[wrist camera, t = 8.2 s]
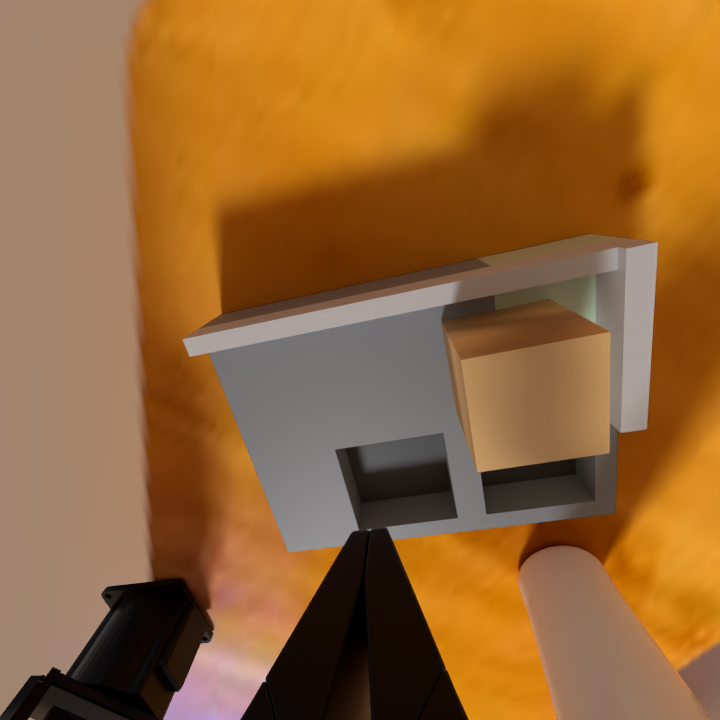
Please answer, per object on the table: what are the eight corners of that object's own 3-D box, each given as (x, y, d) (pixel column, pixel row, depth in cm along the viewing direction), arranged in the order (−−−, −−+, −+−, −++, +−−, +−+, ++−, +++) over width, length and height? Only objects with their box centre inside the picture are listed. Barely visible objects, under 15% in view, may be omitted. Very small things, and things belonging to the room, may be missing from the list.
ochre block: (455, 410, 18) (477, 472, 14) (441, 321, 16) (461, 360, 12) (554, 393, 17) (609, 453, 13) (549, 298, 15) (610, 332, 11)
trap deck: (297, 519, 24) (279, 584, 20) (221, 314, 19) (176, 343, 15) (590, 480, 22) (639, 545, 18) (590, 233, 17) (657, 241, 13)
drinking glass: (626, 537, 23) (992, 1032, 9) (593, 610, 26) (839, 1083, 12) (516, 526, 23) (711, 993, 9) (494, 599, 26) (621, 1052, 12)
